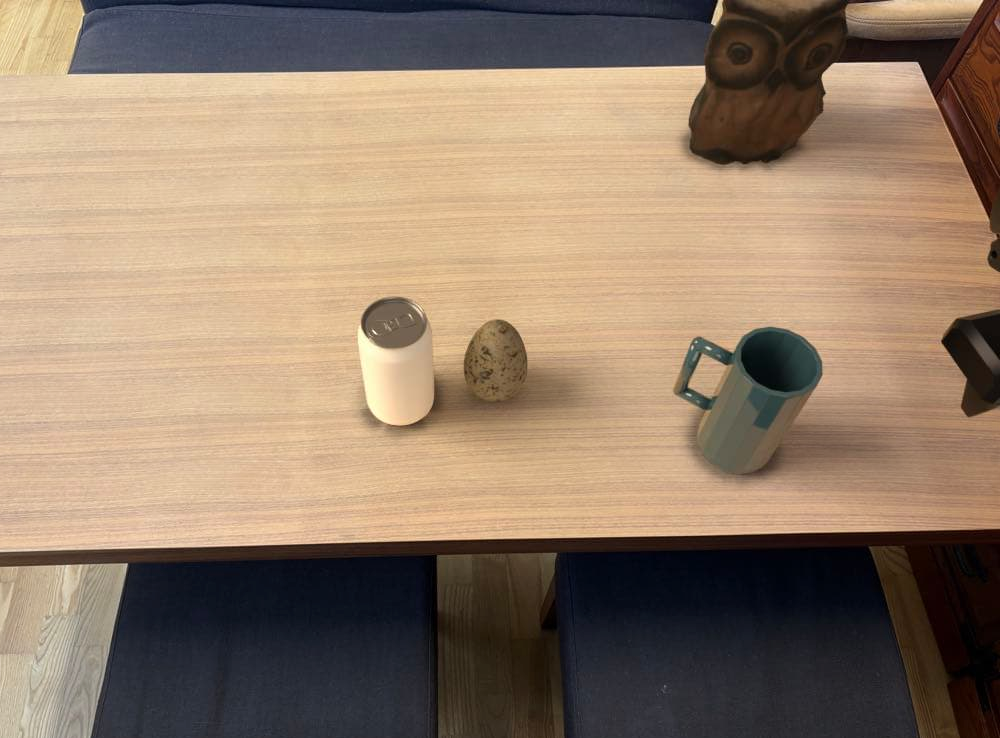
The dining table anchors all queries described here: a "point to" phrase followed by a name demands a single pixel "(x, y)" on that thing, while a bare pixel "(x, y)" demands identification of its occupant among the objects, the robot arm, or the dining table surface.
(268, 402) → the dining table surface
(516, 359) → the decorative egg
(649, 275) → the dining table surface
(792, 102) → the owl
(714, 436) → the teal mug
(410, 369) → the can
